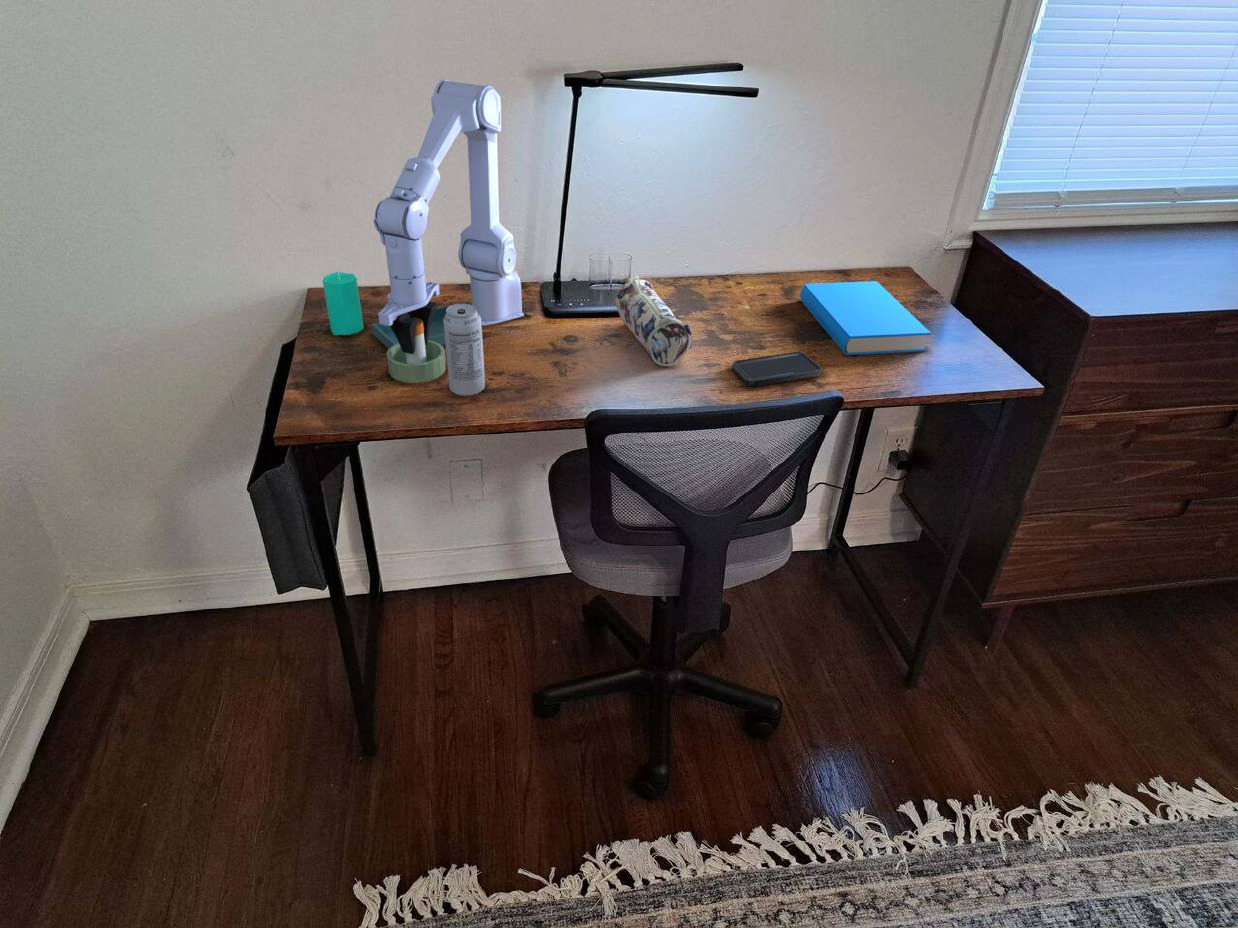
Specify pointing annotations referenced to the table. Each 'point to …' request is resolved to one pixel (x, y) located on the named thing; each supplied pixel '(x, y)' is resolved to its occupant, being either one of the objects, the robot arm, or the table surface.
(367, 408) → the table surface
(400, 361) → the green round bowl
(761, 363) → the phone
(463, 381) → the energy drink can
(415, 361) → the glue stick
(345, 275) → the candle
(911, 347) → the book
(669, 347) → the pencil case
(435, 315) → the tray
